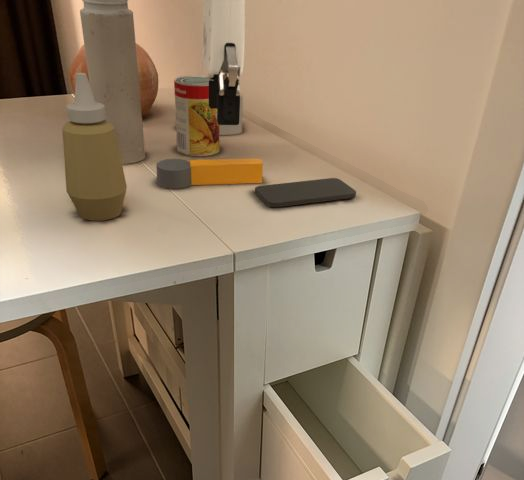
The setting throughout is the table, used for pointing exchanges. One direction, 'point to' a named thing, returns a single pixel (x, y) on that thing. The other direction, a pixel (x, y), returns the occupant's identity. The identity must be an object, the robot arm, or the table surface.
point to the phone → (304, 192)
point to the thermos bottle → (115, 71)
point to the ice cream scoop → (208, 172)
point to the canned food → (195, 117)
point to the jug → (145, 74)
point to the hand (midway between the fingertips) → (223, 115)
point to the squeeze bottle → (92, 157)
